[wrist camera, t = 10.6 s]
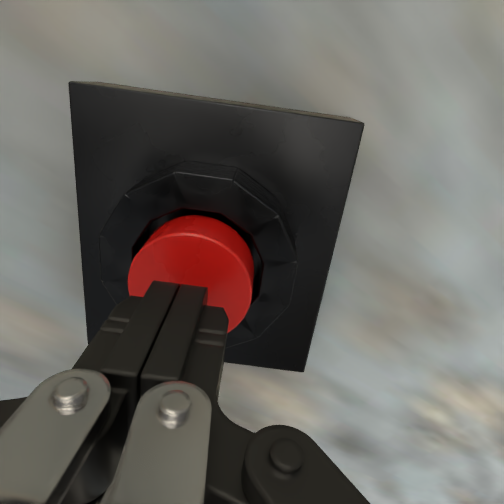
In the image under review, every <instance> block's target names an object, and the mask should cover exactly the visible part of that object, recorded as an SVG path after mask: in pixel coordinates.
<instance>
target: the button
mask: <svg viewBox="0 0 504 504" xmlns="http://www.w3.org/2000/svg"><path fill="white" fill-rule="evenodd" d="M253 277H254V262H253V257H252V254H251V251H250V249H249V247H248V245H247V243H246V242H245V240H244V239H243V238H242V237H241V236H240V234H239V233H238V232H237V231H235V230H234V229H233V228H232V227H230V226H229V225H227V224H226V223H224V222H222V221H220V220H217V219H214V218H211V217H207V216H202V215H186V216H181V217H177V218H174V219H171V220H169V221H167V222H165V223H164V224H162V225H161V226H160V227H159V228H157V229H156V230H155V231H154V233H153V234H152V235H151V236H150V238H149V239H148V240H147V241H146V243H145V244H144V245H143V246H142V248H141V249H140V250H139V252H138V253H137V254H136V256H135V257H134V259H133V261H132V263H131V265H130V268H129V273H128V291H129V295H130V296H131V295H132V296H140V297H143V296H144V295H145V293H146V291H147V290H148V288H149V286H150V285H151V283H152V282H153V281H154V280H156V281H163V282H171V283H178V284H180V285H181V284H186V285H194V286H202V287H208V298H207V305H209V306H216V307H223V308H224V310H225V312H226V314H227V316H228V319H229V324H228V332H230V331H231V330H233V329H234V328H235V327H236V326H237V325H238V324H239V323H240V322H241V321H242V320H243V318H244V317H245V315H246V314H247V312H248V310H249V307H250V304H251V300H252V290H253ZM228 332H227V333H228Z"/></svg>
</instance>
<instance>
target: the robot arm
mask: <svg viewBox="0 0 504 504" xmlns="http://www.w3.org/2000/svg"><path fill="white" fill-rule="evenodd" d="M207 298H208V287H202V286H194V285H186V284H181V285H180V284H178V283H171V282H163V281H156V280H154V281H153V282H152V283H151V285H150V286H149V288H148V290H147V291H146V293H145V295H144V296H143V297H140V296H132V295H131V296H130V297H128V298H126V299H125V300H123V301H122V302H120V303H119V304H117V305H116V306H115V308H114V309H113V310H112V312H111V313H110V315H109V316H108V319H107V320H105V322H104V323H103V325H102V326H101V328H100V331H98V332H97V333H96V335H95V336H94V338H93V339H92V341H91V342H90V343H89V345H88V346H87V348H86V349H85V351H84V352H83V353H82V355H81V356H80V358H79V359H78V361H77V362H76V364H75V365H74V366H73V368H72V369H71V370H66V371H63V372H60V373H57V374H55V375H53V376H51V377H49V378H47V379H46V380H44V381H43V382H42V383H40V384H39V385H38V386H37V387H36V388H35V389H34V391H33V392H32V393H31V394H30V395H29V396H28V397H24V398H18V399H10V400H3V401H0V504H370V503H369V502H368V501H367V500H366V498H365V497H364V496H363V495H362V494H361V493H360V492H359V491H358V489H357V488H356V487H355V486H354V485H353V484H352V483H351V482H350V481H349V479H348V478H347V477H346V476H345V475H344V474H343V473H342V472H341V471H340V469H339V468H338V467H337V466H336V465H335V464H334V463H333V462H332V460H331V459H330V458H329V457H328V456H327V455H326V454H325V453H324V452H323V450H322V449H321V448H320V447H319V446H318V445H317V444H316V443H315V442H314V441H313V440H312V439H311V438H310V437H309V436H308V435H307V434H305V433H304V432H302V431H300V430H298V429H296V428H293V427H290V426H286V425H272V426H268V427H265V428H263V429H261V430H259V431H258V432H256V433H253V432H251V431H249V430H247V429H244V428H242V427H240V426H238V425H236V424H235V423H233V422H232V421H231V420H229V419H228V418H227V417H226V416H225V415H224V413H223V412H222V411H221V409H220V407H219V405H218V402H217V401H218V395H219V389H220V383H221V377H222V371H223V365H224V357H225V349H226V340H227V332H228V324H229V319H228V316H227V314H226V312H225V310H224V308H223V307H216V306H209V305H207Z"/></svg>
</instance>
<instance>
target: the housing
mask: <svg viewBox="0 0 504 504" xmlns="http://www.w3.org/2000/svg"><path fill="white" fill-rule="evenodd" d="M69 95H70V109H71V122H72V136H73V149H74V163H75V176H76V190H77V203H78V217H79V230H80V244H81V258H82V271H83V285H84V298H85V312H86V325H87V339H88V344H89V343H90V342H91V341H92V339H93V338H94V336H95V335H96V333H97V332H98V331H100V328H101V326H102V325H103V323H104V322H105V320H107V319H108V316H109V315H110V313H111V312H112V310H113V309H114V308H115V306H116V305H117V304H119V303H120V302H122V301H123V300H125V299H126V298H128V297H130V295H129V291H128V273H129V268H130V265H131V263H132V261H133V259H134V257H135V256H136V254H137V253H138V252H139V250H140V249H141V248H142V246H143V245H144V244H145V243H146V241H147V240H148V239H149V238H150V236H151V235H152V234H153V233H154V231H155V230H156V229H157V228H159V227H160V226H161V225H162V224H164V223H165V222H167V221H169V220H171V219H174V218H177V217H181V216H186V215H202V216H207V217H211V218H214V219H217V220H220V221H222V222H224V223H226V224H227V225H229V226H230V227H232V228H233V229H234V230H235V231H237V232H238V233H239V234H240V236H241V237H242V238H243V239H244V240H245V242H246V243H247V245H248V247H249V249H250V251H251V254H252V257H253V262H254V277H253V290H252V300H251V304H250V307H249V310H248V312H247V314H246V315H245V317H244V318H243V320H242V321H241V322H240V323H239V324H238V325H237V326H236V327H235V328H234V329H233V330H231V331H230V332H228V333H227V340H226V349H225V357H224V362H227V363H235V364H242V365H250V366H257V367H265V368H273V369H280V370H288V371H296V372H304V370H305V365H306V361H307V357H308V353H309V349H310V345H311V341H312V337H313V333H314V329H315V325H316V321H317V316H318V312H319V308H320V304H321V300H322V296H323V292H324V288H325V284H326V280H327V276H328V271H329V267H330V263H331V259H332V255H333V251H334V247H335V243H336V239H337V235H338V231H339V227H340V222H341V218H342V214H343V210H344V206H345V202H346V198H347V194H348V190H349V186H350V182H351V178H352V173H353V169H354V165H355V161H356V157H357V153H358V149H359V145H360V141H361V137H362V133H363V129H364V123H363V122H360V121H358V120H355V119H353V118H350V117H342V116H335V115H328V114H321V113H314V112H307V111H300V110H293V109H286V108H279V107H272V106H265V105H258V104H250V103H243V102H236V101H229V100H222V99H215V98H208V97H201V96H194V95H187V94H180V93H173V92H166V91H158V90H151V89H144V88H137V87H130V86H123V85H116V84H109V83H102V82H79V81H70V82H69Z"/></svg>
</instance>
